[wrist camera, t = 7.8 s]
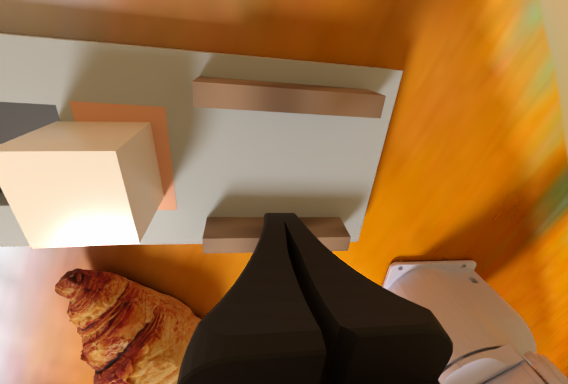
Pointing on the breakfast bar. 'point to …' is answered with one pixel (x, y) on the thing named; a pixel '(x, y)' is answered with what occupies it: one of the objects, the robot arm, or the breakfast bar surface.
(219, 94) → the parallel rails
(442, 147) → the breakfast bar surface
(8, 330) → the breakfast bar surface
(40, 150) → the cube
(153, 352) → the croissant
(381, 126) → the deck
